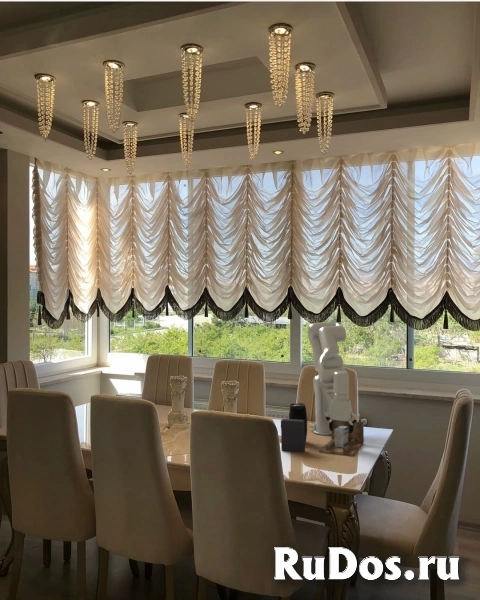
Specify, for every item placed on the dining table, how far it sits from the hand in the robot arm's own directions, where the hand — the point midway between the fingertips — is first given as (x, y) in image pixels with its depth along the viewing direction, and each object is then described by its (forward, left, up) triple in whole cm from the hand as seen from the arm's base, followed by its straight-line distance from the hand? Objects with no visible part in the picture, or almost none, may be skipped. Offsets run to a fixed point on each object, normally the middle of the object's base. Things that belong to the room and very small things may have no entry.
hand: (341, 431), depth 260 cm
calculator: (-20, -15, -8) cm, 26 cm away
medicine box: (0, -1, -7) cm, 7 cm away
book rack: (0, -1, -8) cm, 8 cm away
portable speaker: (-23, 0, -8) cm, 24 cm away
